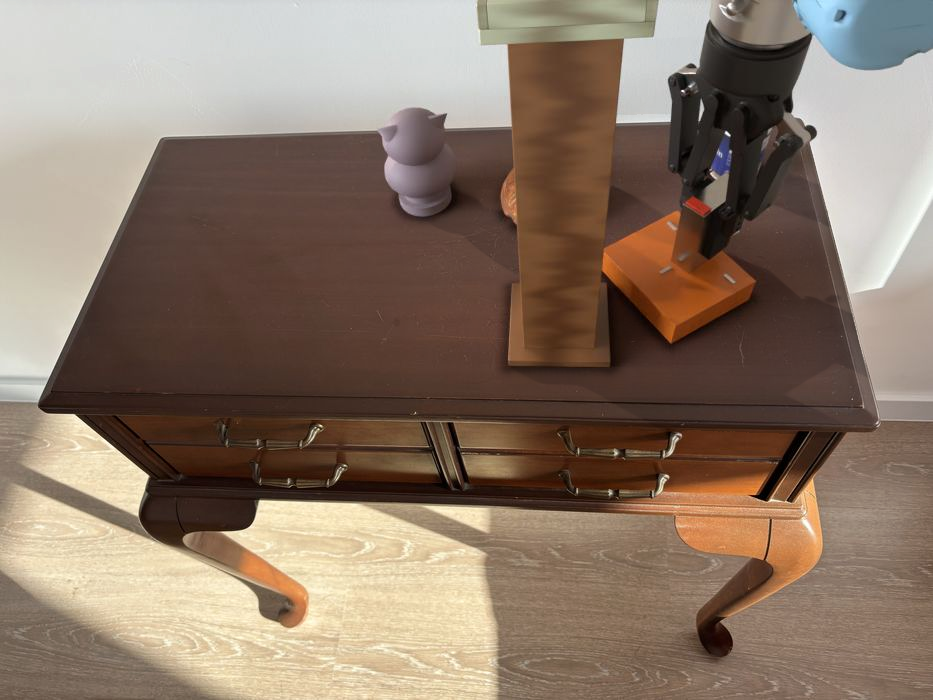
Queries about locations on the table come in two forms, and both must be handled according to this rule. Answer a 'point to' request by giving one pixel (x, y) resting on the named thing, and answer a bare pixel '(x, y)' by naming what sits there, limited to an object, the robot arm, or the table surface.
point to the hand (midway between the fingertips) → (702, 242)
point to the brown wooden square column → (562, 165)
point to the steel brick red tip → (697, 224)
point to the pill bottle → (724, 156)
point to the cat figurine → (419, 160)
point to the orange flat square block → (674, 280)
